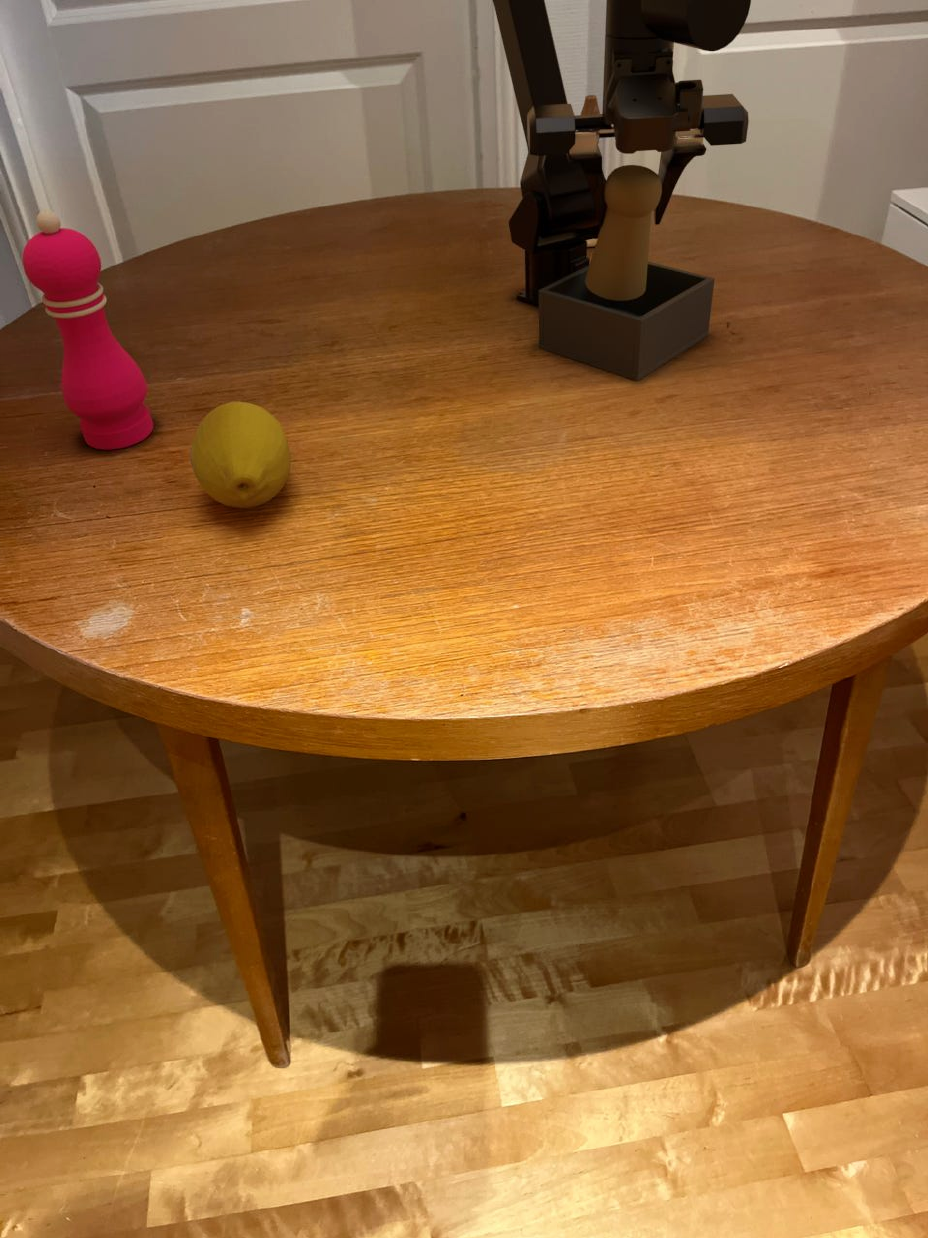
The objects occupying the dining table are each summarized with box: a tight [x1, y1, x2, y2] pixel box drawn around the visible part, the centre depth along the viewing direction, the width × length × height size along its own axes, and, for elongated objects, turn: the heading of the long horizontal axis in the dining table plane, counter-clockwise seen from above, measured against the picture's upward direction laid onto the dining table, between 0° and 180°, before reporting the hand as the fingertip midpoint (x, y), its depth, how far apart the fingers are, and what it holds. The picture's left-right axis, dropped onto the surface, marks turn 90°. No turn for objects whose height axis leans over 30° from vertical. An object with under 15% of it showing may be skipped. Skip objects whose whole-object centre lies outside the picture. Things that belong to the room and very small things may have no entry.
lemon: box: [190, 401, 292, 509], centre depth 76 cm, size 11×8×8 cm
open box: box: [538, 261, 715, 382], centre depth 94 cm, size 12×12×6 cm
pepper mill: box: [22, 210, 154, 451], centre depth 82 cm, size 7×7×20 cm
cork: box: [585, 164, 662, 301], centre depth 89 cm, size 6×6×11 cm
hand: (628, 224), depth 89 cm, fingers closed on cork, 5 cm apart
